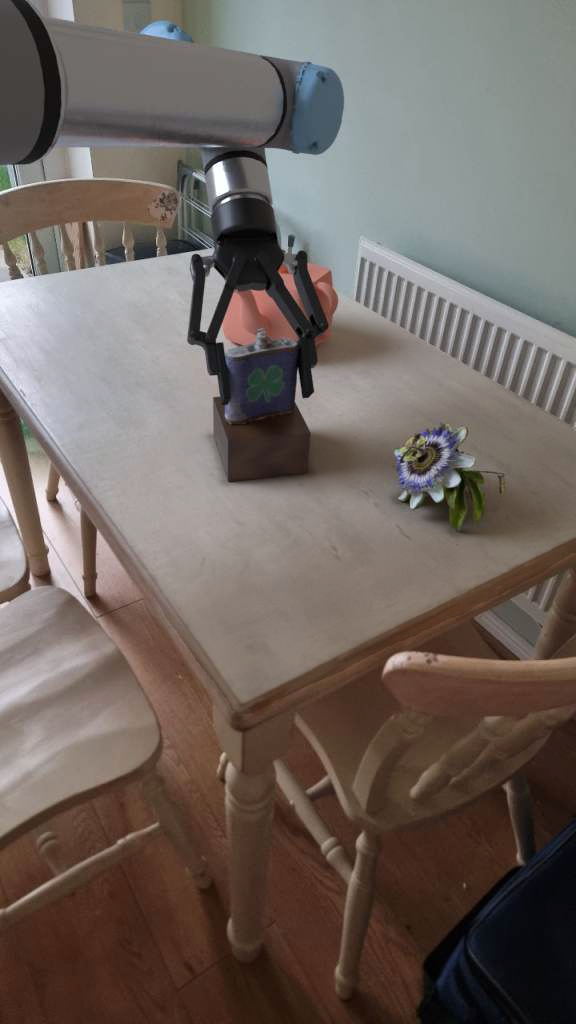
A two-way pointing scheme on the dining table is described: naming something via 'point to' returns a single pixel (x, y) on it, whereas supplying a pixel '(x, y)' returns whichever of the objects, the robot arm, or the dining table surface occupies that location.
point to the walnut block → (261, 445)
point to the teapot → (276, 309)
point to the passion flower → (441, 473)
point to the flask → (261, 378)
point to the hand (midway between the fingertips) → (267, 398)
